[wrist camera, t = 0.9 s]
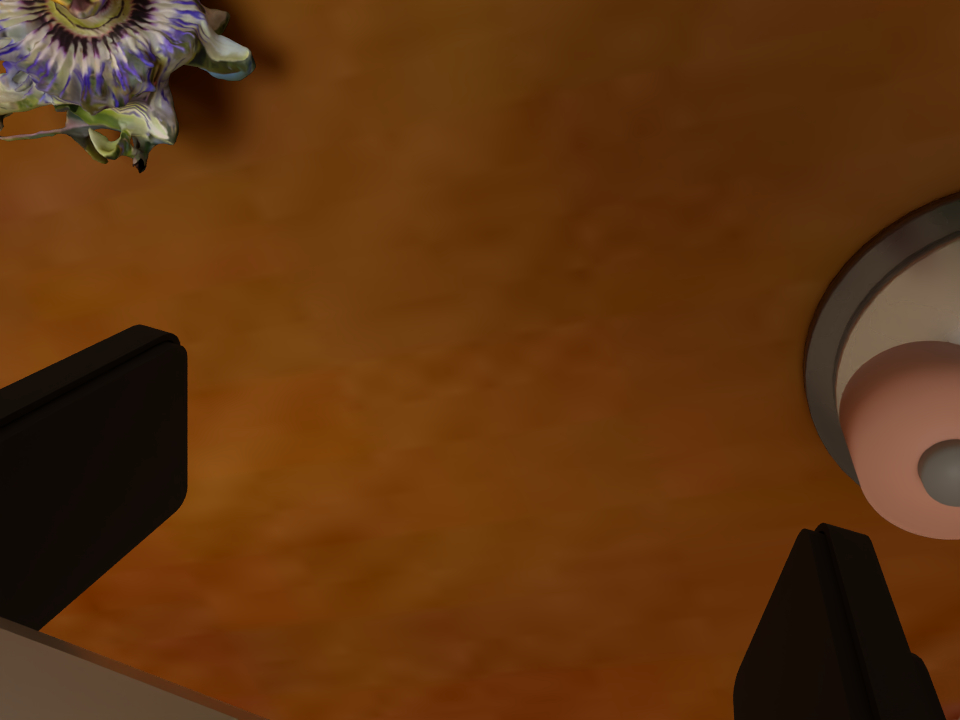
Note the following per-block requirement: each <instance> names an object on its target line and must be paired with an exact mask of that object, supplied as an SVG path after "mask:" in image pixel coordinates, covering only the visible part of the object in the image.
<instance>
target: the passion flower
mask: <svg viewBox="0 0 960 720" xmlns="http://www.w3.org/2000/svg"><path fill="white" fill-rule="evenodd" d="M229 20H230V14H229V13H228V12H226V11H221V10H218V9H208V8H207V7H205V6H203V5H202V4H201V3H200V1H199V0H0V60H4V61H5V62H3V66H4V67H5V68H6V73H2V74H0V131H1V130H2V128H3V127H4V125H3V119H4V118H5V117H7V116H9V115H11V114H12V113H13V112H24V111H29V110H31V109H34V108H37V107H41V106H45V105H50V104H53V105H54V107H55V111H57V112H65V111H67V121H66V123H65V124H66V126H65V127H64V128H61V129H56V130H50V131H40V132H38V133H35V134H24V135H16V136H9V137H1V136H0V139H2V140H6V141H13V140H22V139H35V138H40V137H44V136H54V135H56V134H67V135H69V136H71V137H72V138H73V139H74V140H75V141H76V142H77V143H79V144H80V145H81V146H82V147H83V148H84V150H85V151H87V152H88V154H89V155H90V156H91V157H92V158H93V159H94V160H96V161H98V162H100V163H104V164H106V163H108V160H107V159H112V160H115V159H117V158H118V157H119V156H121V155H123V156H128V157H130V158H132V159H133V167H134V165H135V166H136V168H137V169H138V170H139V173H141V172H143V171H144V170H145V168H146V164H147V159H148V153H149V152H150V150H151V149H152V148H153V147H154V146H156V145H157V144H160V143H165V144H169V145H174V143H175V142H176V139H177V136H178V133H179V123H178V121H177V117H176V112H175V109H174V102H173V97H172V94H171V91H170V88H169V77H170V74H171V73H172V72H173V71H175V70H176V69H178V68H179V67H181V66H182V65H189V66H194V67H198V68H201V69H203V70H205V71H207V72H208V73H210V74H211V75H212V76H213V77H216V78H218V79H225V80H227V81H240V80H242V79H243V78H245V77H247V76H248V75H249V74H251V73H252V72H253V70H254V69H255V67H256V64H255V61H254V58H253V56H252V53H251V51H250V50H249V49H248V48H246V47H244V46H242V45H240V44H238V43H236V42H234V41H232V40H231V39H229V38H227V37H225V36H223V35H221V34H222V33H223V32H224V30H225V28H226V27H227V24H228V22H229ZM100 128H104V129H111V130H115V131H119V132H121V134H120V137H119V138H118V139H117V140H116V141H113V142H110V141H109V140H108V139H107V138H106V136H103V135H102V134H100V133H99V132H96V131H95V129H100ZM131 137H132V139H133V143H134V147H133V146H132V145H131V144H130V140H131ZM106 158H107V159H106Z"/></svg>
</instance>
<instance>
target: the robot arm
mask: <svg viewBox="0 0 960 720" xmlns="http://www.w3.org/2000/svg"><path fill="white" fill-rule="evenodd" d="M186 493H187V352H186V350H185V348H184V347H183V346H180V342H179V339H178V337H177V336H175V335H174V334H172V333H168V332H165V331H162V330H158V329H155V328H151V327H148V326H144V325H135V326H132V327H130V328H128V329H126V330H124V331H122V332H120V333H118V334H115V335H113V336H111V337H109V338H107V339H105V340H103V341H101V342H99V343H97V344H94V345H92V346H90V347H88V348H86V349H84V350H82V351H80V352H78V353H76V354H73V355H71V356H69V357H67V358H65V359H63V360H61V361H59V362H57V363H54V364H52V365H50V366H48V367H46V368H44V369H42V370H40V371H38V372H36V373H33V374H31V375H29V376H27V377H25V378H23V379H21V380H19V381H17V382H15V383H12V384H10V385H8V386H6V387H4V388H2V389H0V720H269V719H266V718H263V717H261V716H258V715H256V714H253V713H251V712H248V711H245V710H243V709H240V708H238V707H235V706H232V705H230V704H227V703H225V702H222V701H219V700H217V699H214V698H212V697H209V696H206V695H204V694H201V693H199V692H196V691H193V690H191V689H188V688H186V687H183V686H180V685H178V684H175V683H173V682H170V681H168V680H165V679H162V678H160V677H157V676H155V675H152V674H149V673H147V672H144V671H142V670H139V669H136V668H134V667H131V666H129V665H126V664H123V663H121V662H118V661H115V660H113V659H110V658H107V657H105V656H102V655H100V654H97V653H94V652H92V651H89V650H86V649H84V648H81V647H78V646H76V645H73V644H71V643H68V642H65V641H63V640H60V639H57V638H55V637H52V636H49V635H47V634H44V633H42V632H39V630H40V629H41V628H42V627H43V626H45V625H46V624H47V623H48V622H49V621H50V620H51V619H53V618H54V617H55V616H56V615H57V614H58V613H60V612H61V611H62V610H63V609H64V608H65V607H66V606H68V605H69V604H70V603H71V602H72V601H73V600H75V599H76V598H77V597H78V596H79V595H80V594H81V593H83V592H84V591H85V590H86V589H87V588H88V587H89V586H91V585H92V584H93V583H94V582H95V581H96V580H98V579H99V578H100V577H101V576H102V575H103V574H104V573H106V572H107V571H108V570H109V569H110V568H111V567H113V566H114V565H115V564H116V563H117V562H118V561H119V560H121V559H122V558H123V557H124V556H125V555H126V554H127V553H129V552H130V551H131V550H132V549H133V548H134V547H136V546H137V545H138V544H139V543H140V542H141V541H142V540H144V539H145V538H146V537H147V536H148V535H149V534H150V533H152V532H153V531H154V530H155V529H156V528H157V527H159V526H160V525H161V524H162V523H163V522H164V521H165V520H167V519H168V518H169V517H170V516H171V515H172V514H174V513H175V512H176V511H177V510H178V509H179V508H180V506H181V505H182V503H183V501H184V499H185V496H186ZM733 704H734V720H946V718H945V715H944V713H943V710H942V707H941V705H940V702H939V699H938V697H937V694H936V691H935V689H934V686H933V683H932V681H931V678H930V675H929V672H928V670H927V668H926V666H925V664H924V662H923V661H922V659H921V658H919V657H918V656H917V655H915V654H913V653H911V652H910V649H909V646H908V643H907V640H906V638H905V635H904V632H903V629H902V626H901V623H900V621H899V618H898V615H897V612H896V609H895V607H894V604H893V601H892V598H891V595H890V593H889V590H888V587H887V584H886V581H885V578H884V576H883V573H882V570H881V567H880V564H879V562H878V559H877V556H876V553H875V550H874V548H873V545H872V542H871V540H870V538H869V536H866V535H864V534H860V533H857V532H854V531H850V530H847V529H843V528H840V527H836V526H833V525H829V524H826V523H821V524H820V525H819V526H818V527H817V528H816V529H815V531H812V530H808V529H802V530H801V532H800V533H799V535H798V537H797V539H796V541H795V543H794V545H793V548H792V550H791V552H790V555H789V557H788V559H787V561H786V564H785V566H784V568H783V570H782V573H781V575H780V577H779V580H778V582H777V584H776V586H775V589H774V591H773V593H772V595H771V598H770V600H769V602H768V604H767V607H766V609H765V611H764V614H763V616H762V618H761V620H760V623H759V625H758V627H757V629H756V632H755V634H754V636H753V639H752V641H751V643H750V645H749V648H748V650H747V652H746V654H745V657H744V659H743V661H742V663H741V666H740V668H739V671H738V673H737V676H736V680H735V685H734V693H733Z"/></svg>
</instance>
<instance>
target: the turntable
mask: <svg viewBox="0 0 960 720" xmlns="http://www.w3.org/2000/svg"><path fill="white" fill-rule="evenodd" d="M917 341H942V342H950V343H954V344H958V345H960V230H959V231H956V232H953V233H951V234H949V235H947V236H945V237H942V238H940V239H938V240H936V241H934V242H932V243H930V244H928V245H926V246H925V247H923V248H922V249H920V250H918V251H917V252H915V253H913V254H912V255H910V256H908V257H907V258H906V259H904V260H903V261H902V262H901V263H899V264H898V265H897V266H895V267H894V268H893V269H892V270H890V271H889V272H888V273H887V274H886V275H885V276H884V277H883V278H882V279H881V280H880V281H879V282H878V283H877V284H876V285H875V286H874V287H873V288H872V289H871V290H870V291H869V293H868V294H867V295H866V296H865V298H864V299H863V300H862V301H861V303H860V304H859V305H858V307H857V308H856V310H855V312H854V313H853V315H852V317H851V318H850V320H849V321H848V323H847V325H846V328H845V330H844V332H843V335H842V337H841V339H840V342H839V345H838V349H837V353H836V356H835V360H834V368H833V377H832V383H833V399H834V403H835V408H836V413H837V417H838V420H839V406H840V400H841V396H842V393H843V391H844V389H845V386H846V385H847V383H848V381H849V380H850V378H851V377H852V376H853V374H854V373H855V372H856V371H857V370H858V369H859V368H860V367H861V366H862V365H863V364H864V363H865V362H867V361H868V360H870V359H871V358H872V357H874V356H876V355H877V354H879V353H881V352H883V351H885V350H887V349H890V348H892V347H895V346H898V345H902V344H905V343H911V342H917ZM839 423H840V420H839ZM840 426H841V425H840Z"/></svg>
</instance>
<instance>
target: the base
mask: <svg viewBox="0 0 960 720" xmlns="http://www.w3.org/2000/svg"><path fill="white" fill-rule="evenodd" d="M959 230H960V192H957V193H955V194H952V195H949V196H947V197H944V198H941V199H938V200H936V201H933V202H931V203H929V204H927V205H925V206H923V207H921V208H919V209H917V210H915V211H913V212H911V213H909V214H907V215H905V216H904V217H902V218H901V219H899V220H898V221H896V222H894V223H893V224H891V225H890V226H888V227H887V228H885V229H884V230H882V231H881V232H880V233H879V234H877V235H876V236H875V237H874V238H872V239H871V240H870V241H869V242H867V243H866V244H865V245H864V246H863V247H862V248H861V249H860V250H859V251H858V252H857V253H856V254H855V255H854V256H853V257H852V258H851V259H850V260H849V261H848V262H847V263H846V264H845V265H844V266H843V268H842V269H841V270H840V272H839V273H838V274H837V276H836V277H835V278H834V280H833V281H832V282H831V283H830V285H829V287H828V288H827V290H826V292H825V294H824V295H823V297H822V299H821V301H820V302H819V304H818V306H817V309H816V311H815V314H814V316H813V319H812V321H811V324H810V327H809V331H808V335H807V339H806V343H805V350H804V360H803V374H804V387H805V392H806V396H807V401H808V405H809V409H810V413H811V417H812V419H813V422H814V424H815V427H816V429H817V432H818V435H819V437H820V438H821V440H822V442H823V444H824V445H825V447H826V449H827V450H828V452H829V454H830V455H831V456H832V457H833V459H834V460H835V461H836V462H837V464H838V465H839V466H840V468H841V469H842V470H843V471H844V472H845V473H846V474H847V475H848V476H849V477H851V478H852V479H853V480H854V481H855V482H856V483H857V484H858V485H859V486H860V483H859V480H858V477H857V474H856V471H855V468H854V465H853V462H852V459H851V456H850V453H849V450H848V447H847V444H846V441H845V438H844V435H843V432H842V429H841V426H840V423H839V420H838V417H837V413H836V408H835V403H834V399H833V383H832V377H833V368H834V360H835V356H836V353H837V349H838V345H839V342H840V339H841V337H842V335H843V332H844V330H845V328H846V325H847V323H848V321H849V320H850V318H851V317H852V315H853V313H854V312H855V310H856V308H857V307H858V305H859V304H860V303H861V301H862V300H863V299H864V298H865V296H866V295H867V294H868V293H869V291H870V290H871V289H872V288H873V287H874V286H875V285H876V284H877V283H878V282H879V281H880V280H881V279H882V278H883V277H884V276H885V275H886V274H887V273H888V272H889V271H890V270H892V269H893V268H894V267H895V266H897V265H898V264H899V263H901V262H902V261H903V260H904V259H906V258H907V257H908V256H910V255H912V254H913V253H915V252H917V251H918V250H920V249H922V248H923V247H925V246H926V245H928V244H930V243H932V242H934V241H936V240H938V239H940V238H942V237H945V236H947V235H949V234H951V233H953V232H956V231H959Z"/></svg>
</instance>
